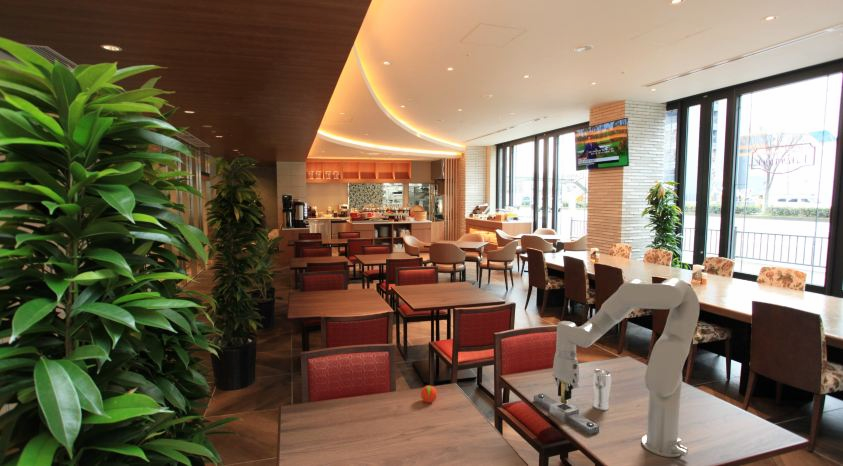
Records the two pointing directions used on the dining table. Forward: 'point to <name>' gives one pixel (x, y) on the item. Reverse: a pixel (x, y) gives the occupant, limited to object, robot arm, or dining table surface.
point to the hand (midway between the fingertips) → (564, 396)
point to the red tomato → (428, 394)
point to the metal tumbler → (601, 388)
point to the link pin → (563, 388)
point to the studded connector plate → (567, 413)
